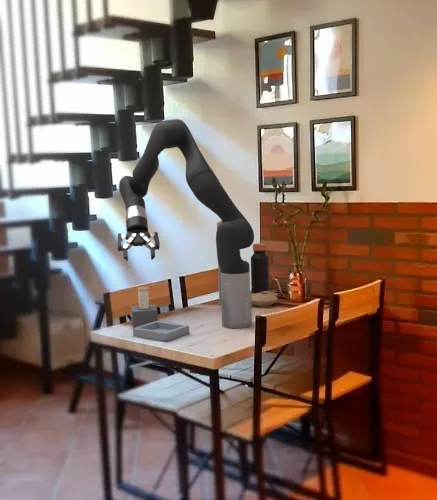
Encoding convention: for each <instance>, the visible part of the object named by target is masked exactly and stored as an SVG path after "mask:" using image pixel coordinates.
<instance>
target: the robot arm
mask: <svg viewBox="0 0 437 500" xmlns="http://www.w3.org/2000/svg"><path fill="white" fill-rule="evenodd" d="M197 144H198V143H196V140H195V139H194V136H193V134H192V133H191V130H190V129H189V126H188V124H186V123H185V122H184V121H183V120H181V119H178V118H177V119H176V118H175V119H166V120H161V121H159V122H157V123H155V125H154V127H153V128H152V130H151V133H150V136H149V138H148V140H147V143H146V146H145V149H144V152H143V154H142V156H141V158H140V159H139V161H138V162H137V164H136V165H135V167H134V168H133V170H132V176H131V175H125V176H123V177H121V179H120V181H119V184H118V189H119V193H120V197H122V200H123V202H124V205H125V229H126V234H122V233H117V252H122V253H123V255H122V256H123V259H124V260H125V262H128V261H129V253H128V251H129V250H130V249H131V248H132V247H145V248H146V249H149V251H150V260H151V261H152V260H154V259H155V258H156V250H159V249H160V248H161V247H160V244H161V243H160V238H159V233H158V231H155V232H154V233H150V232H149V224H148V215H147V211H146V210H147V209H146V201H145V197H146V196H147V195H148V192H149V186H150V183H151V180H152V179H153V177H154V176H155V174H156V173H157V171H158V169H159V167H160V161H159V156H160V154H161V153H162V152H163V151H165V149H166V150H167V149H175V148H177V149H179V151H181V154H182V155H183V157H184V159H185V180H186V184H187V185H188V187H189V189H190V190H191V192H192V194H193V195H194V197H195V198H196V199H197V200H198V201H199V202H200V203H201V204H202V205H204V206H205V207H206V208H207V209H208V210H210V211H212V213H214V214H215V215H216V216H217V217H218V218H219V219H220V221H221V220H222V222H223V223H222V224H220V225H219V227H218V229H217V228H216V234H215V245H216V257H217V265H218V264H219V266H220V274H221V305H220V306H221V307H220V308H221V325H222V327H224V328H227V329H228V328H229V329H243V328H250V327H251V325H252V324H253V315H252V314H253V309H252V308H253V307H252V305H253V304H252V301H251V294H252V293H251V265H250V263H249V262H248V260H244V259H243V258H242V257H241V250H244V249H247V248H250V247H251V246H253V244H254V241H255V233H254V230H253V227H252V226H251V224H250V222H249V221H248V220H247V218H246V216H244V215H243V214H242V213H243V212H241V211H240V210H239V209H238V207H237V206H236V204H235V203H234V201H232V199H231V197H230V195H228V192H227V191H226V190H225V188H224V187H223V185H222V183H221V182H220V181H219V178H218V176H217V175H216V174H215V172H214V170H213V169H212V168H211V166H210V165H209V163H208V162H207V160H206V158H205V157H204V155H203V153H202V151H201V150H200V149H199V146H198V145H197ZM151 239H152V240H153V241H154V243H153V242H152V241H151ZM124 240H125V241H126V242H125V244H124V245H122V242H124Z"/></svg>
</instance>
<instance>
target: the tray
mask: <svg viewBox="0 0 437 500" xmlns="http://www.w3.org/2000/svg"><path fill="white" fill-rule="evenodd" d="M132 333H133V334H132V337H134V336H137V337H136V338H140V337H141V338H142V339H145V338H147V339H146V340H151V339H152V340H153V341H158V342H164V343H168V342H171V341H173V340H176V339H178V338H179V339H180V338H181V337H184V336H187V335H189V334H190V325H188V324H187V325H186V324H181V323H175V322H174V323H173V322H166V321H160V320H158V321H154V322H151V323H148V324H145V325H142V326H139V327H136V328H133V327H132Z"/></svg>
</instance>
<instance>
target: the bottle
mask: <svg viewBox="0 0 437 500" xmlns="http://www.w3.org/2000/svg"><path fill="white" fill-rule="evenodd" d="M266 250H267V244H266V243H264V242H263V243H253V244H252V252H253V253H252V255H251V256H250V292H251V294H255V293H260V292H263V291H270V268H269V267H270V266H269V264H270V263H269V262H270V261H269V260H270V259H269V256H268V255H267V254H266Z"/></svg>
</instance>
